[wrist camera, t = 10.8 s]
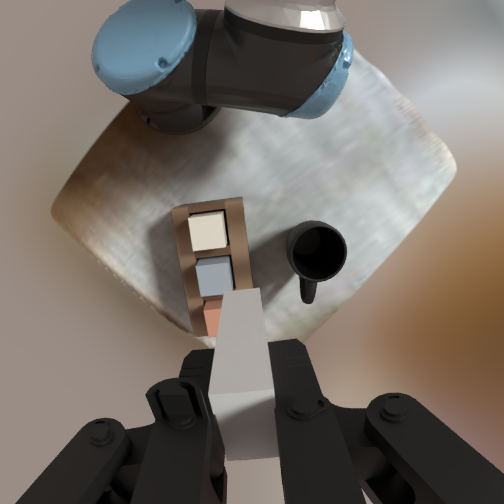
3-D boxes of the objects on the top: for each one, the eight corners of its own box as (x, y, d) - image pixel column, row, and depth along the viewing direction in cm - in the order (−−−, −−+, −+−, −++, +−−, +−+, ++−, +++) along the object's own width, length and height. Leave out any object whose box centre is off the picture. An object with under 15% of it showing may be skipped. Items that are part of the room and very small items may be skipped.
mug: (272, 281, 51) (279, 303, 42) (285, 211, 48) (295, 219, 39) (318, 287, 51) (333, 309, 42) (333, 219, 49) (353, 229, 39)
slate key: (202, 253, 47) (195, 266, 40) (230, 250, 47) (228, 262, 40) (206, 279, 48) (200, 296, 41) (233, 276, 48) (232, 293, 41)
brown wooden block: (181, 204, 47) (170, 209, 41) (242, 196, 47) (242, 199, 41) (200, 317, 52) (194, 336, 45) (256, 311, 52) (257, 330, 45)
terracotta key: (208, 292, 48) (203, 310, 41) (235, 289, 48) (234, 307, 41) (213, 316, 49) (208, 337, 42) (239, 313, 49) (238, 334, 42)
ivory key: (196, 212, 45) (188, 218, 38) (224, 208, 45) (221, 214, 38) (200, 240, 46) (193, 251, 39) (228, 236, 46) (225, 247, 39)
